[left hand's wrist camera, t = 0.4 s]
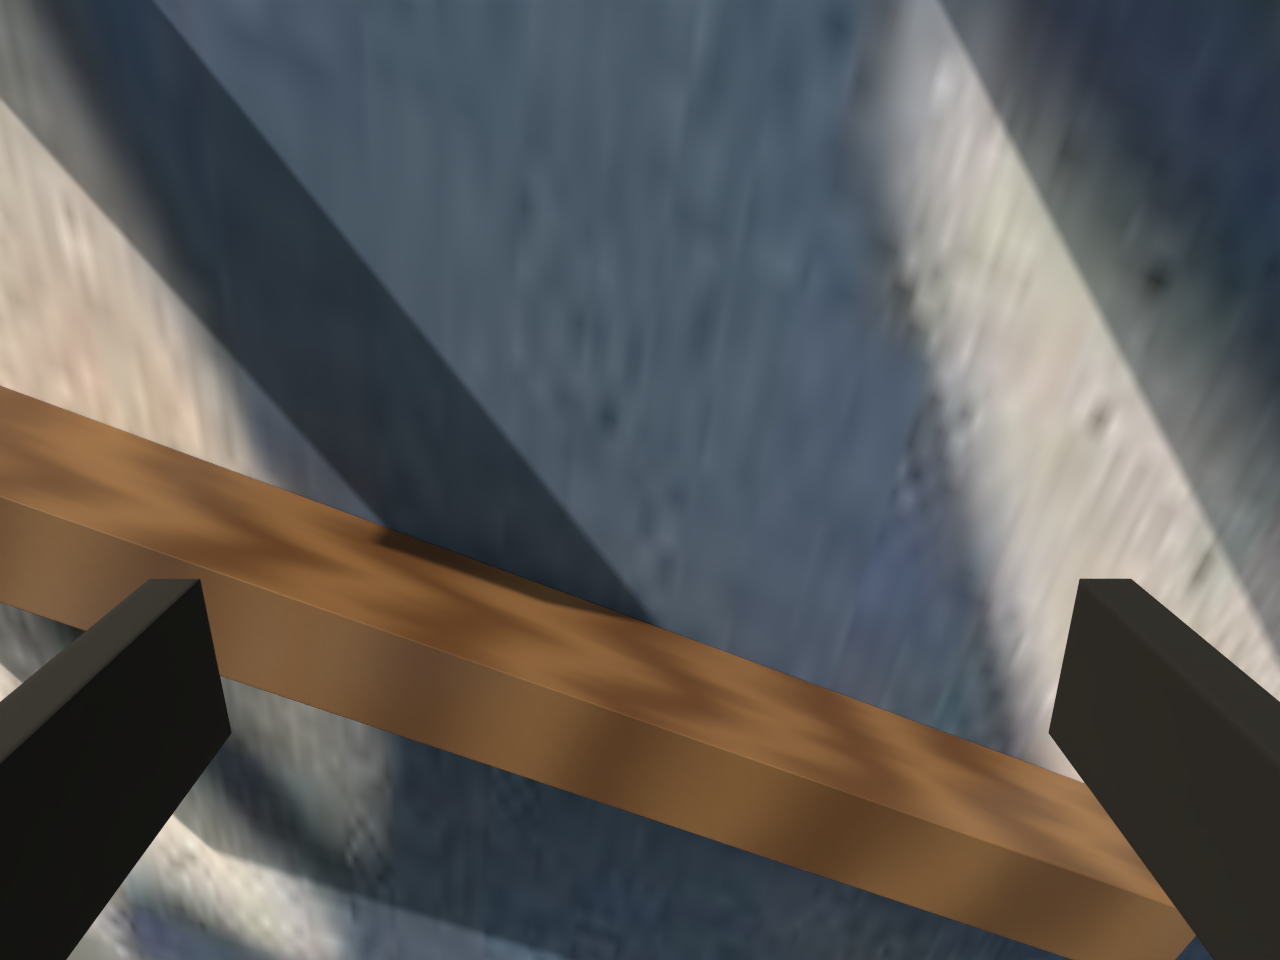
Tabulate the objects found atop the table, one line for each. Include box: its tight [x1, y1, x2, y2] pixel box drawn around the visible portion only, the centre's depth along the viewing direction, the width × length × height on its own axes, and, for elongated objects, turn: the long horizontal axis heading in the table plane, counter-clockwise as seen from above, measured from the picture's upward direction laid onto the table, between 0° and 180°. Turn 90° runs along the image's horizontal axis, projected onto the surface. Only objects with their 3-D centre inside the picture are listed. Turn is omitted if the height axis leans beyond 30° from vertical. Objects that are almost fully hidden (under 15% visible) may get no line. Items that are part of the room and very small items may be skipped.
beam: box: [0, 386, 1196, 960], centre depth 39 cm, size 77×5×8 cm, turn 67°
